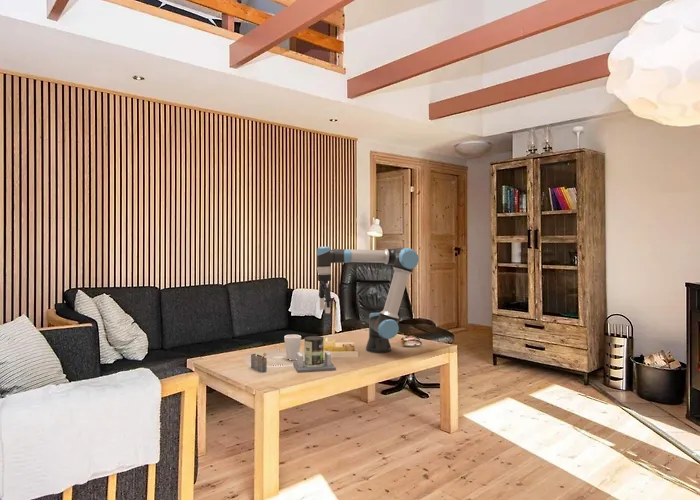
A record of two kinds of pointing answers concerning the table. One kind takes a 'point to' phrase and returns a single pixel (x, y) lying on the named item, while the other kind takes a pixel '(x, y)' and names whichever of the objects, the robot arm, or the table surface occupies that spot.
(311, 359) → the coffee can
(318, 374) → the table surface
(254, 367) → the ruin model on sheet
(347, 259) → the robot arm
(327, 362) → the holder
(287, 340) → the foam cup
